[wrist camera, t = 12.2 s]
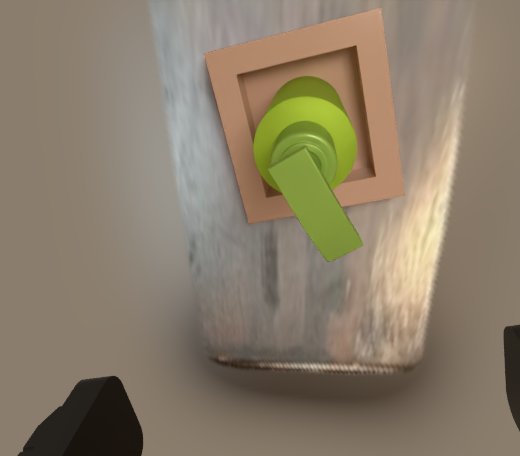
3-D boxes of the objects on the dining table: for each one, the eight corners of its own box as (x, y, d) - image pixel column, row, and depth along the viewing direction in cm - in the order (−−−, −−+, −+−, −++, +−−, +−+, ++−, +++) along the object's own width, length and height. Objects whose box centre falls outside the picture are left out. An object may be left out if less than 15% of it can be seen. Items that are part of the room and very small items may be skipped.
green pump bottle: (299, 170, 40) (290, 286, 22) (257, 100, 38) (208, 163, 20) (360, 135, 38) (406, 229, 20) (319, 61, 36) (329, 89, 18)
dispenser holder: (213, 51, 38) (203, 53, 34) (374, 10, 35) (381, 7, 32) (253, 209, 43) (248, 224, 39) (397, 182, 40) (404, 195, 37)
